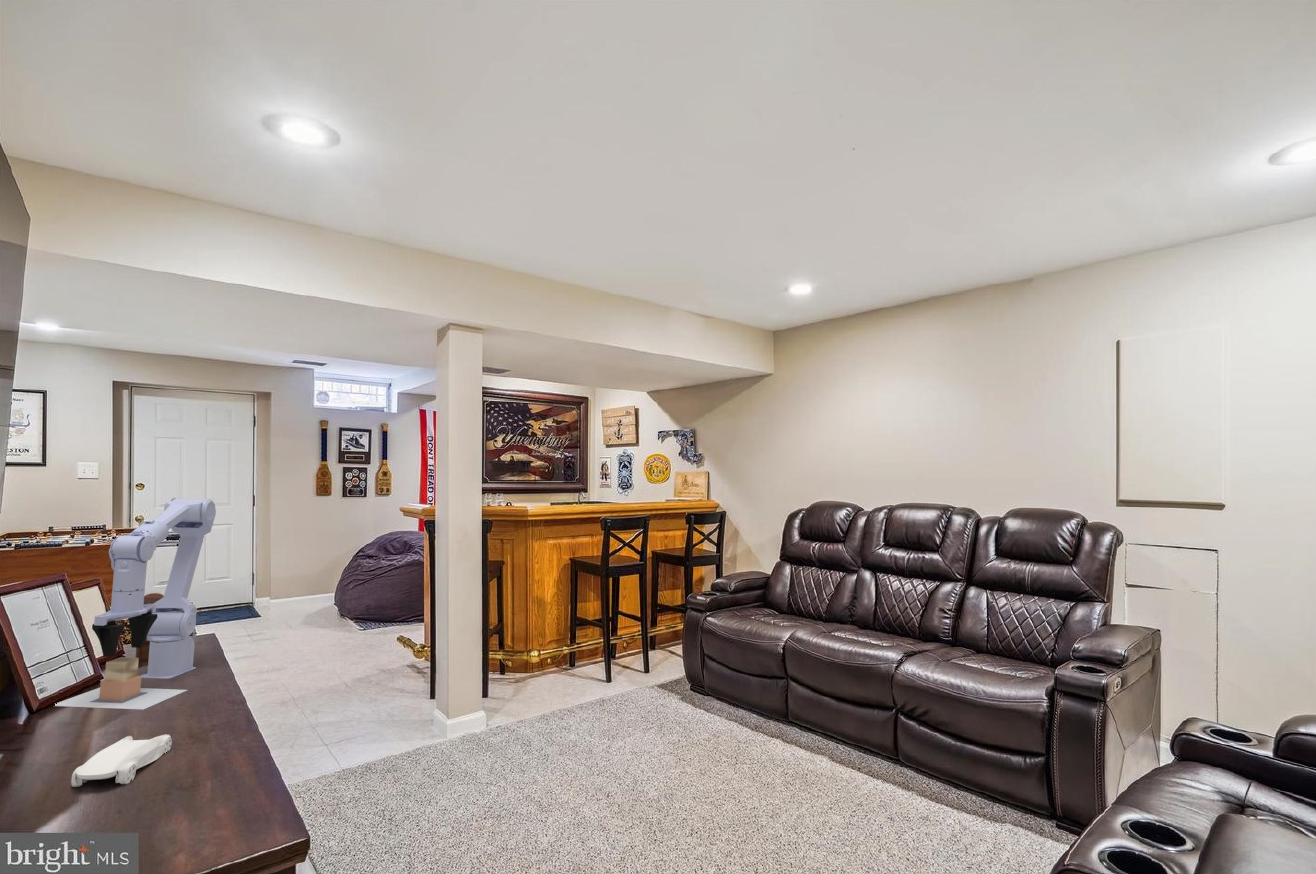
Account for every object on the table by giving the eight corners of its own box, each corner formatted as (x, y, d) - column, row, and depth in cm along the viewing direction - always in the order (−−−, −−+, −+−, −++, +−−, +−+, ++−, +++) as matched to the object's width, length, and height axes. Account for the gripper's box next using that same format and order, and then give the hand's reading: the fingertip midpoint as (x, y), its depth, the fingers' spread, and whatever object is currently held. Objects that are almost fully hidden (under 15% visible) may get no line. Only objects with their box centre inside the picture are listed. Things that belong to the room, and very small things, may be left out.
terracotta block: (118, 692, 149) (119, 674, 149) (140, 693, 149) (141, 675, 149) (99, 700, 144) (100, 681, 144) (121, 701, 144) (123, 682, 144)
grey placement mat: (102, 688, 153) (102, 686, 153) (187, 692, 153) (187, 689, 153) (49, 708, 140) (50, 705, 140) (143, 711, 140) (143, 708, 140)
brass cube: (119, 675, 149) (121, 657, 149) (137, 676, 149) (138, 658, 149) (104, 681, 145) (106, 662, 145) (122, 681, 145) (124, 662, 145)
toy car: (126, 750, 122) (128, 725, 122) (174, 748, 123) (176, 723, 123) (60, 797, 104) (63, 767, 104) (118, 794, 106) (120, 764, 106)
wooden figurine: (163, 666, 172) (169, 596, 173) (132, 669, 168) (138, 597, 169) (164, 655, 181) (169, 589, 182) (134, 658, 177) (140, 590, 179)
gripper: (119, 596, 141) (114, 661, 140) (170, 585, 155) (165, 644, 154) (86, 594, 141) (81, 660, 140) (140, 584, 155) (136, 643, 154)
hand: (123, 651), depth 147 cm, fingers open, 7 cm apart
